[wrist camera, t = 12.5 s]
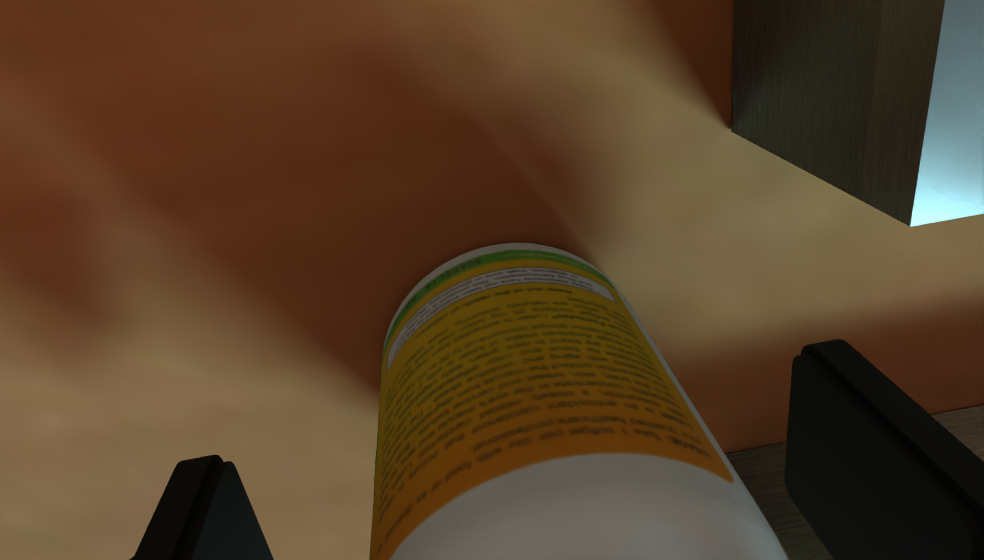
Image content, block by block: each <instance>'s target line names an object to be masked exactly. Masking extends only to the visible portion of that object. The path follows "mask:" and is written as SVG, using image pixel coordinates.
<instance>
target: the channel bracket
mask: <svg viewBox="0 0 984 560" xmlns="http://www.w3.org/2000/svg"><path fill="white" fill-rule="evenodd" d="M731 132H733V133H735V134H737V135H739V136H741V137H743V138H745V139H747V140H748V141H750V142H752V143H754V144H756V145H758V146H760V147H762V148H763V149H765V150H767V151H769V152H771V153H773V154H775V155H777V156H779V157H780V158H782V159H784V160H786V161H788V162H790V163H792V164H794V165H795V166H797V167H799V168H801V169H803V170H805V171H807V172H809V173H810V174H812V175H814V176H816V177H818V178H820V179H822V180H824V181H826V182H827V183H829V184H831V185H833V186H835V187H837V188H839V189H841V190H842V191H844V192H846V193H848V194H850V195H852V196H854V197H856V198H857V199H859V200H861V201H863V202H865V203H867V204H869V205H871V206H873V207H874V208H876V209H878V210H880V211H882V212H884V213H886V214H888V215H889V216H891V217H893V218H895V219H897V220H899V221H901V222H903V223H905V224H906V225H908V226H916V225H921V224H927V223H933V222H938V221H944V220H949V219H955V218H961V217H966V216H972V215H977V214H983V213H984V0H734V35H733V79H732V124H731ZM931 416H932V417H933V418H934V419H935V420H937V421H938V422H939V423H940V424H941V425H942V426H943V427H945V428H946V429H947V430H948V431H949V432H950V433H951V434H953V435H954V436H955V437H956V438H957V439H958V440H960V441H961V442H962V443H963V444H964V445H965V446H966V447H968V448H969V449H970V450H971V451H972V452H973V453H974V454H976V455H977V456H978V457H979V458H980V459H981V460H982V461H984V405H981V406H976V407H970V408H965V409H960V410H955V411H950V412H944V413H939V414H934V415H931ZM785 455H786V443H782V444H777V445H771V446H766V447H761V448H756V449H751V450H745V451H740V452H735V453H730V454H725V456H726V457H727V459H728V460H729V462H730V463H731V465H732V466H733V468H734V470H735V471H736V473H737V474H738V476H739V477H740V479H741V480H742V482H743V483H744V485H745V487H746V488H747V490H748V491H749V493H750V494H751V496H752V497H753V499H754V501H755V502H756V504H757V505H758V507H759V509H760V510H761V512H762V513H763V515H764V517H765V518H766V520H767V522H768V523H769V525H770V527H771V528H772V530H773V531H774V533H775V535H776V537H777V538H778V540H779V542H780V544H781V546H782V548H783V550H784V552H785V554H786V556H787V557H788V559H789V560H834V559H833V558H832V556H831V555H830V553H829V552H828V551H827V549H826V548H825V546H824V545H823V544H822V542H821V541H820V539H819V538H818V536H817V535H816V534H815V532H814V531H813V529H812V528H811V527H810V525H809V524H808V522H807V521H806V520H805V518H804V517H803V515H802V514H801V512H800V511H799V510H798V508H797V507H796V505H795V504H794V503H793V501H792V500H791V498H790V496H789V494H788V492H787V490H786V486H785V482H784V468H785Z"/></svg>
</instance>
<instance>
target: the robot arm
mask: <svg viewBox="0 0 984 560" xmlns="http://www.w3.org/2000/svg"><path fill="white" fill-rule="evenodd" d="M784 482H785V486H786V490H787V492H788V494H789V496H790V498H791V500H792V501H793V503H794V504H795V505H796V507H797V508H798V510H799V511H800V512H801V514H802V515H803V517H804V518H805V520H806V521H807V522H808V524H809V525H810V527H811V528H812V529H813V531H814V532H815V534H816V535H817V536H818V538H819V539H820V541H821V542H822V544H823V545H824V546H825V548H826V549H827V551H828V552H829V553H830V555H831V556H832V558H833V559H834V560H984V461H982V460H981V459H980V458H979V457H978V456H977V455H976V454H974V453H973V452H972V451H971V450H970V449H969V448H968V447H966V446H965V445H964V444H963V443H962V442H961V441H960V440H958V439H957V438H956V437H955V436H954V435H953V434H951V433H950V432H949V431H948V430H947V429H946V428H945V427H943V426H942V425H941V424H940V423H939V422H938V421H937V420H935V419H934V418H933V417H932V416H931V415H930V414H929V413H927V412H926V411H925V410H924V409H923V408H922V407H921V406H919V405H918V404H917V403H916V402H915V401H914V400H913V399H911V398H910V397H909V396H908V395H907V394H906V393H904V392H903V391H902V390H901V389H900V388H899V387H898V386H896V385H895V384H894V383H893V382H892V381H891V380H890V379H888V378H887V377H886V376H885V375H884V374H883V373H882V372H880V371H879V370H878V369H877V368H876V367H875V366H874V365H872V364H871V363H870V362H869V361H868V360H867V359H866V358H864V357H863V356H862V355H861V354H860V353H859V352H858V351H856V350H855V349H854V348H853V347H852V346H851V345H849V344H848V343H847V342H845V341H844V340H840V339H837V340H831V341H826V342H820V343H815V344H810V345H806V346H804V348H803V349H802V352H801V355H798V356H796V357H795V358H794V360H793V364H792V377H791V390H790V403H789V416H788V429H787V442H786V455H785V468H784ZM130 560H274V559H273V557H272V554H271V552H270V549H269V547H268V545H267V542H266V540H265V537H264V535H263V532H262V530H261V528H260V525H259V523H258V520H257V518H256V515H255V513H254V511H253V508H252V506H251V503H250V501H249V498H248V496H247V494H246V491H245V489H244V486H243V484H242V482H241V479H240V477H239V474H238V472H237V469H236V467H235V465H234V464H233V463H232V462H230V461H228V462H223V460H222V458H221V457H220V456H219V455H210V456H205V457H200V458H194V459H189V460H183V461H181V462H179V463H178V464H177V465H176V467H175V469H174V471H173V473H172V475H171V477H170V480H169V482H168V484H167V486H166V488H165V490H164V493H163V495H162V497H161V499H160V501H159V503H158V506H157V508H156V510H155V512H154V514H153V517H152V519H151V521H150V523H149V525H148V527H147V530H146V532H145V534H144V536H143V538H142V540H141V543H140V545H139V547H138V549H137V551H136V553H135V556H133V557H132V558H131V559H130Z"/></svg>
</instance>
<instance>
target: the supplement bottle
mask: <svg viewBox="0 0 984 560" xmlns="http://www.w3.org/2000/svg"><path fill="white" fill-rule="evenodd" d="M370 560H789V559H788V557H787V556H786V554H785V552H784V550H783V548H782V546H781V544H780V542H779V540H778V538H777V537H776V535H775V533H774V531H773V530H772V528H771V527H770V525H769V523H768V522H767V520H766V518H765V517H764V515H763V513H762V512H761V510H760V509H759V507H758V505H757V504H756V502H755V501H754V499H753V497H752V496H751V494H750V493H749V491H748V490H747V488H746V487H745V485H744V483H743V482H742V480H741V479H740V477H739V476H738V474H737V473H736V471H735V470H734V468H733V466H732V465H731V463H730V462H729V460H728V459H727V457H726V456H725V454H724V453H723V451H722V449H721V448H720V446H719V445H718V443H717V442H716V440H715V438H714V437H713V435H712V434H711V432H710V431H709V429H708V427H707V426H706V424H705V423H704V421H703V420H702V418H701V416H700V415H699V413H698V412H697V410H696V409H695V407H694V405H693V404H692V402H691V401H690V399H689V398H688V396H687V394H686V393H685V391H684V390H683V388H682V386H681V385H680V383H679V382H678V380H677V379H676V377H675V375H674V374H673V372H672V371H671V369H670V367H669V366H668V364H667V363H666V361H665V359H664V358H663V356H662V355H661V353H660V352H659V350H658V348H657V347H656V345H655V344H654V342H653V340H652V339H651V337H650V336H649V334H648V333H647V331H646V329H645V328H644V326H643V325H642V323H641V321H640V320H639V318H638V317H637V315H636V313H635V312H634V310H633V309H632V307H631V306H630V304H629V303H628V301H627V300H626V298H625V297H624V296H623V294H622V293H621V292H620V291H619V289H618V288H617V287H616V285H615V284H614V283H613V282H612V281H611V280H610V279H609V278H608V277H607V276H606V275H605V274H604V273H603V272H601V271H600V270H599V269H598V268H596V267H595V266H593V265H592V264H590V263H589V262H587V261H585V260H584V259H582V258H580V257H578V256H576V255H573V254H571V253H569V252H566V251H563V250H561V249H557V248H554V247H550V246H545V245H540V244H532V243H504V244H497V245H491V246H486V247H482V248H479V249H476V250H472V251H469V252H467V253H465V254H462V255H460V256H458V257H456V258H454V259H452V260H450V261H448V262H446V263H444V264H443V265H441V266H439V267H438V268H436V269H435V270H433V271H432V272H431V273H430V274H428V275H427V276H426V277H425V278H423V279H422V280H421V281H420V282H419V283H418V284H417V285H416V286H415V287H414V288H413V289H412V290H411V291H410V293H409V294H408V295H407V297H406V298H405V299H404V301H403V302H402V303H401V305H400V307H399V309H398V310H397V312H396V314H395V315H394V317H393V319H392V321H391V324H390V326H389V329H388V332H387V335H386V339H385V343H384V349H383V356H382V364H381V381H380V398H379V417H378V435H377V451H376V460H375V477H374V503H373V518H372V530H371V546H370Z"/></svg>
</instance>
